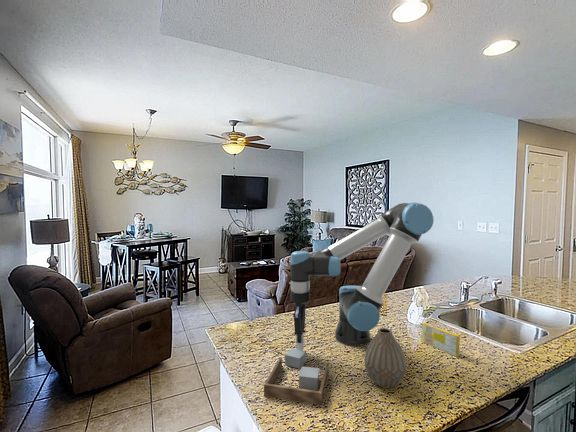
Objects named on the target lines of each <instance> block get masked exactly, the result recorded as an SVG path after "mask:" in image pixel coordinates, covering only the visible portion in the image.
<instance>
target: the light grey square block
mask: <svg viewBox="0 0 576 432" xmlns="http://www.w3.org/2000/svg"><path fill="white" fill-rule="evenodd" d="M319 382H320V368H319V367H310V366H301V368H300V370H299V374H298V388H301V389H306V388H307V389H308V390H314V391H319V390H318V389H319V384H320V383H319Z"/></svg>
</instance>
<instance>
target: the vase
mask: <svg viewBox="0 0 576 432" xmlns="http://www.w3.org/2000/svg"><path fill="white" fill-rule="evenodd" d="M363 362H364V368H365V371H366V373H367V375H368V377H369V378H370V380H371V381H372V382H373V383H374V384H375V385H376V386H378V387H381V388H385V389H392V388H394V387H396V386H397V385H399V384H400V383H401V382H402V381H403V379H404V378H405V375H406V370H407V359H406V356H405V352H404V350H403V348H402V346H401V345H400V343H399V341H398V340H397V339H396V337H394V334H393V331H392V329H390V328H388V327H387V328H386V327H380V328H378V329H377V333H376V334H375V336H374V337H373V338H372V339H370V341H369V343H367V347H366V349H365V352H364V361H363Z"/></svg>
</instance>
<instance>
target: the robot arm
mask: <svg viewBox="0 0 576 432" xmlns="http://www.w3.org/2000/svg"><path fill="white" fill-rule="evenodd" d="M434 220H435V219H434V215H433V212H432V210H431V209H430V208H429V207H428V206H427V205H425V204H423V203H419V202H410V203H409V202H402V203H398V204H397V205H394V206H392V207H391V208H389V209H388V210H386V211H384V212H383V213H381V214H379V215H378V216H377V219H376V220H373V221H372V222H370V223H368V224H366V225H365V226H362V227H361V228H359V229H358V230H356V231H354V232H351V234H349V235H346V236H345V237H343V238H341V239H340V240H337V241H336V242H334V243H333V244H331V245H329V246H327V247H326V248H324V249H322V250H320V249H319V250H317V251H315V252H314V253H313V255H312V256H311V255H310V252H309V251H304V250H296V251H293V252H292V253H291V254H290V265H289V266H290V268H289V270H290V281H289V283H288V284H289V285H290V290H291V291H290V301H291V302H293V303H295V304H294V306H293V310H294V311H293V313H292V315H293V324H294V325H293V326H294V332H293V334H294V335H295V339H296V340H295V344H296V345H295V349H299V350H303V351H304V348H305V347H304V344H305V341H304V338H305V333H306V330H305V328H306V310H307V309H306V307H307V303H308V302H309V301H310V298H311V297H310V289H311V288H310V287H311V285H310V284H311V283H310V282H311V280H310V277H337V276H340V274H341V271H342V268H341V267H342V266H341V260H343V259H344V258H346V257H348V256H350V255H352V254H354V253H355V252H357V251H359V250H361V249H363V248H364V247H366V246H368V245H371V244H372V243H373V242H376V241H377V240H379V239H381V238H382V237H385V236H386V235H389V237H388V239H387V240H386V242H385V244H384V246H383V247H382V250H381V251H380V253H379V255H378V256H377V258H376V260H375V261H374V264H373V265H372V267H371V269H370V271H369V272H368V274H367V276H366V278H365V280H364V282H363V284H362V285H343V286H340V288H339V289H338V290H339V292H338V296H339V299H338V300H339V301H338V303H339V306H338V307H339V311H338V312H339V313H338V315H339V316H338V318H339V319H338V322H337V325H336V329H335V332H334V333H335V335H334V336H335V339H336V341H338V342H339V343H342V344H343V345H347V346H363V345H368V344H369V343H370V341H371V333H370V331H371V330H373V329H374V328H376V327H377V325H378V324H379V322H380V310H381V309H382V307H383V304H384V301H383V297H384V294H385V293H386V291H387V289H388V287H389V286H390V284H391V281H392V280H393V278H394V277H395V274H396V273H397V271H398V269H399V268H400V266H401V264H402V262H403V261H404V259H405V256H406V255H407V253H408V251H410V248H411V245H414V244H416V243H418V242H419V241H420V239H421V237H422V235H425V234H426V233H428V232H429V231H431V229H432V228H433V225H434Z"/></svg>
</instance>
